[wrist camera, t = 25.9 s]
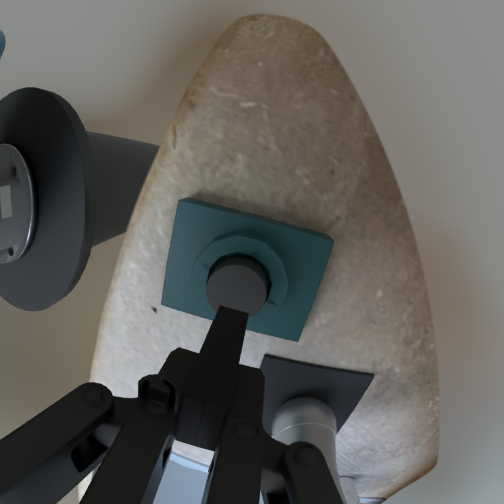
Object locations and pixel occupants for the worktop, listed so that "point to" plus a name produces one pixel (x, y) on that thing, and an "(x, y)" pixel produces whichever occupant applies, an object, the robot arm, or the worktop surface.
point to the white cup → (349, 490)
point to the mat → (310, 387)
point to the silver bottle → (309, 429)
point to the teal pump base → (251, 246)
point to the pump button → (238, 285)
